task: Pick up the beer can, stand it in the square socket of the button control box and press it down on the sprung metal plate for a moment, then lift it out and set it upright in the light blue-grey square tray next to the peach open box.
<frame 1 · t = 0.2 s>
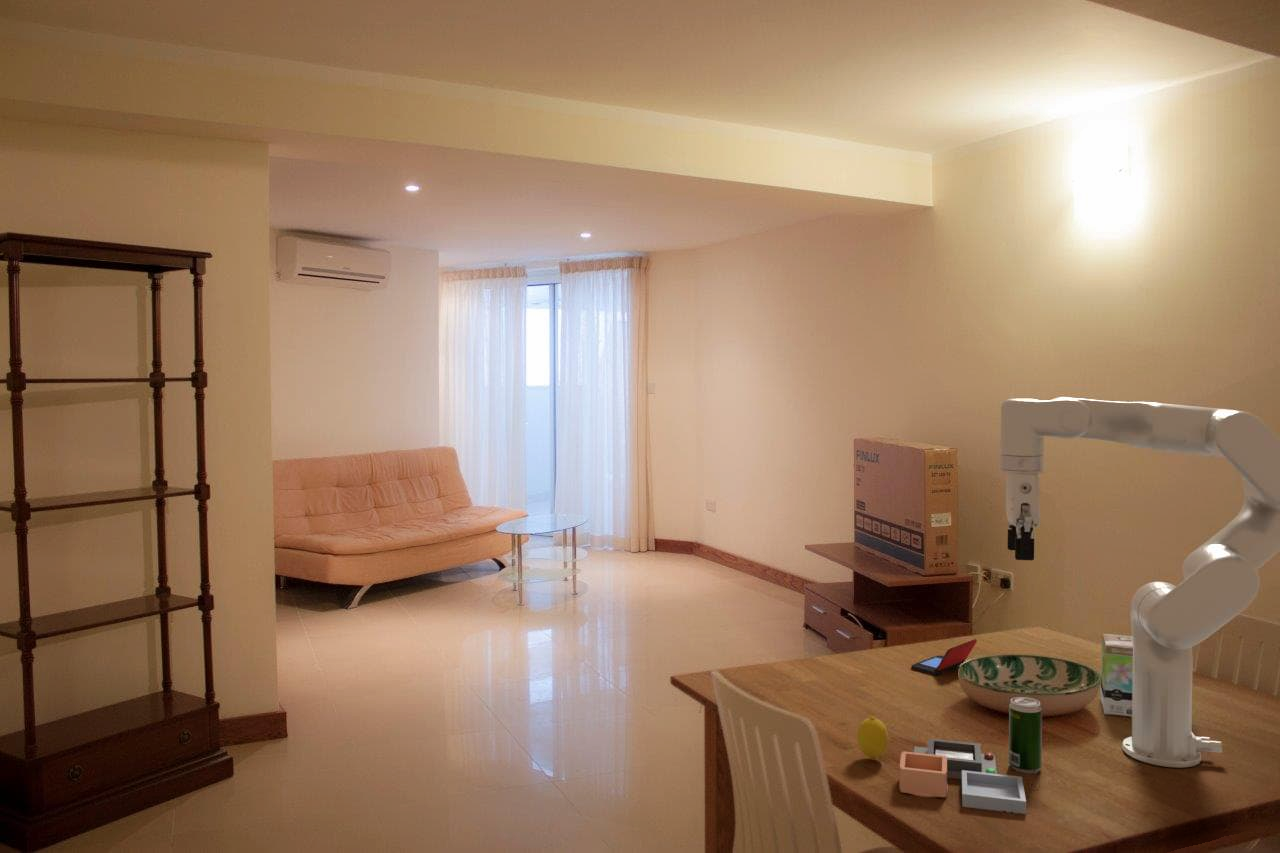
hand: (1020, 554, 176), 36 cm above the table, tool pointing down, fingers open, 9 cm apart
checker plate: (954, 758, 167), point 1 cm above the table, slide at -0.7 cm
tea box: (1142, 713, 192), on the table
light blue-grey square tray: (992, 797, 155), on the table
handheld game console: (944, 670, 223), on the table
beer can: (1025, 769, 166), on the table
peach open box: (923, 786, 159), on the table
lemon: (872, 760, 171), on the table
button control box: (954, 766, 167), on the table
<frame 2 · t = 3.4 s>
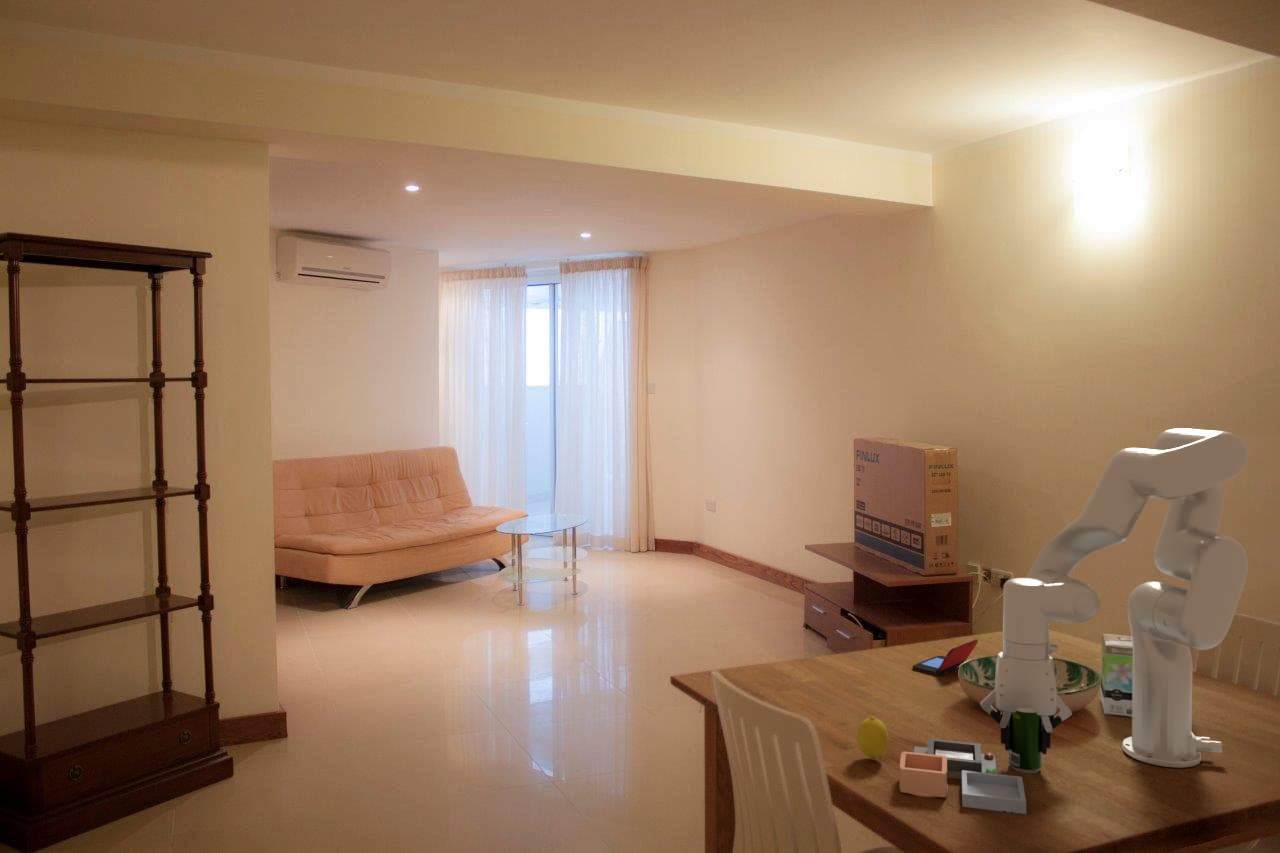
hand: (1025, 748, 166), 3 cm above the table, tool pointing down, fingers closed on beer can, 5 cm apart
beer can: (1025, 769, 166), on the table, touching gripper
everything else where it was.
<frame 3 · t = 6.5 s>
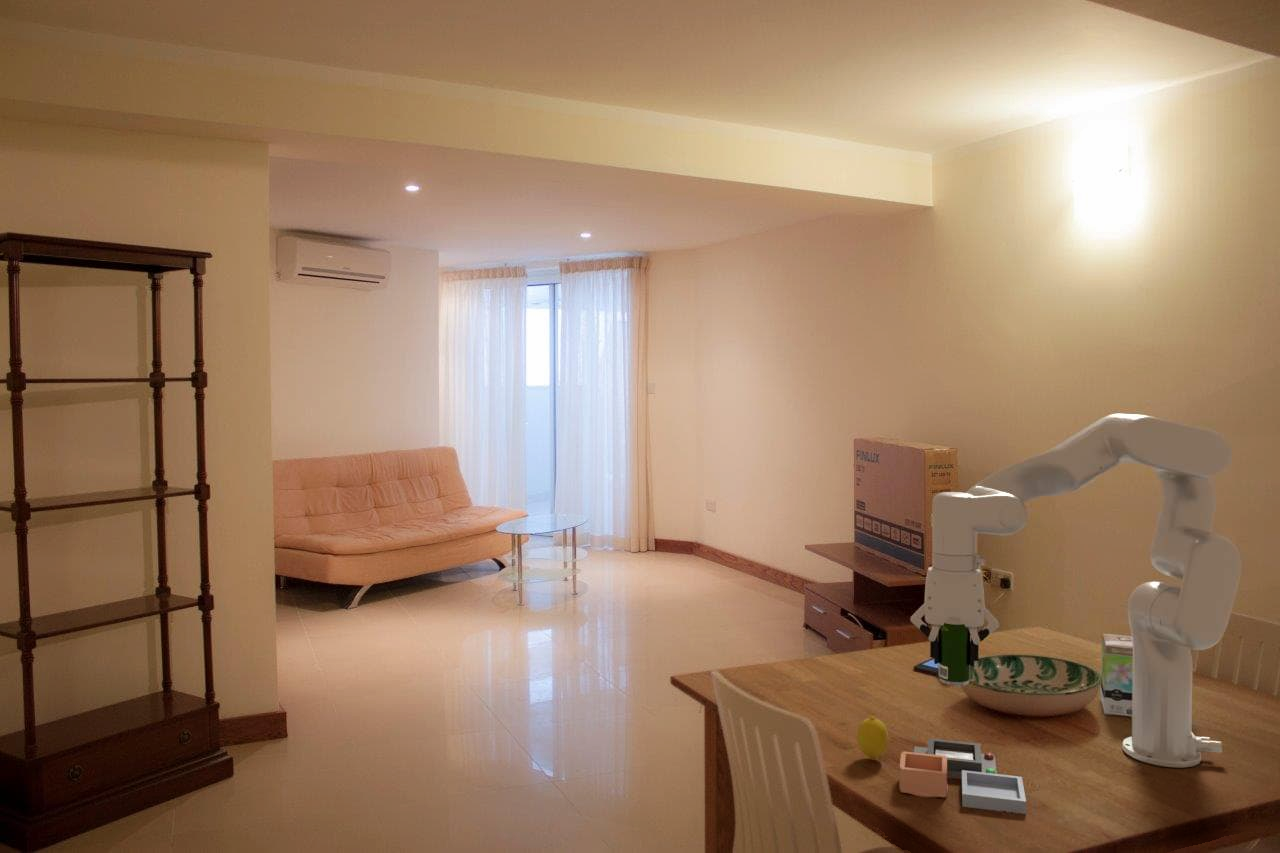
hand: (954, 662, 166), 19 cm above the table, tool pointing down, fingers closed on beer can, 5 cm apart
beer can: (954, 682, 166), point 15 cm above the table, touching gripper
everything else where it was.
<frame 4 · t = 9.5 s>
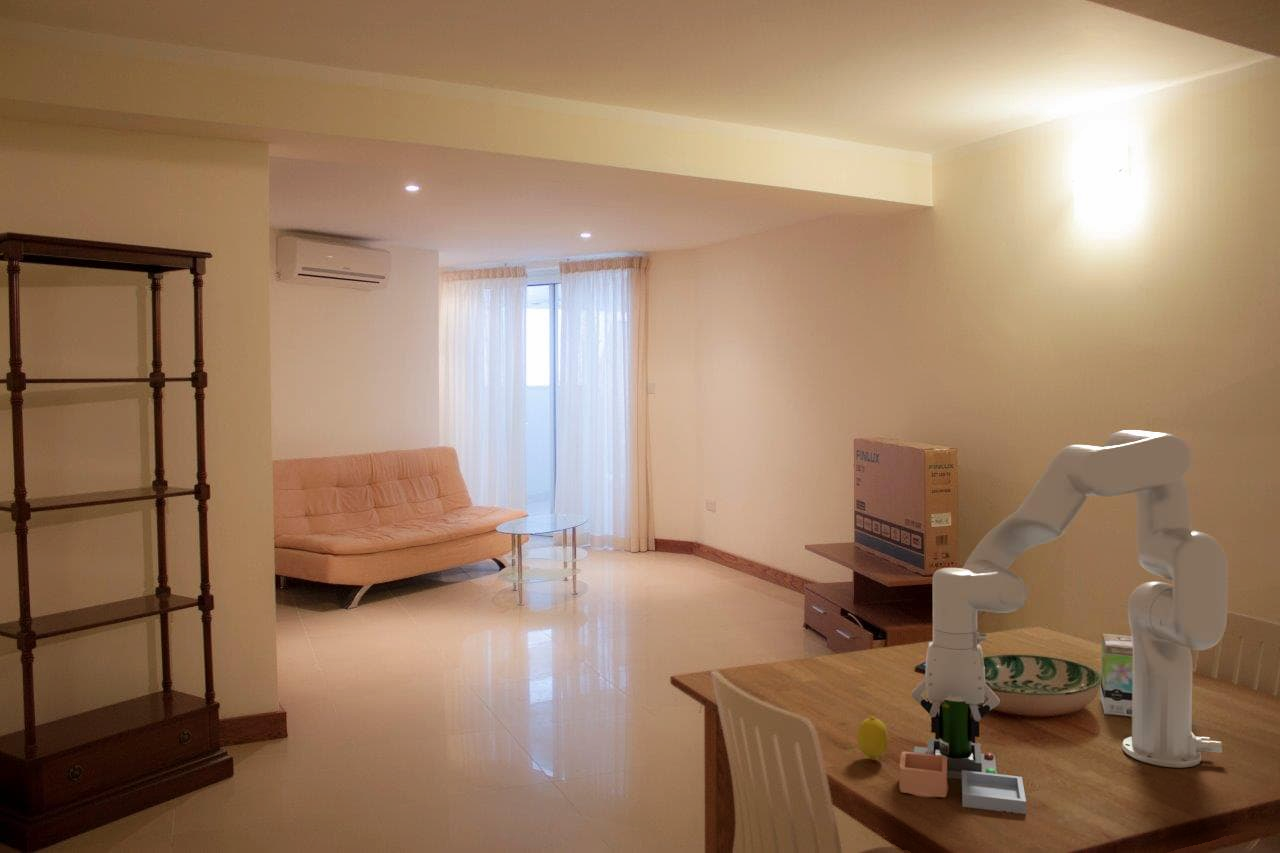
hand: (955, 737, 167), 5 cm above the table, tool pointing down, fingers closed on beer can, 5 cm apart
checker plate: (954, 758, 167), point 1 cm above the table, slide at -0.8 cm, touching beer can
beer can: (955, 757, 167), point 2 cm above the table, touching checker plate, gripper
everything else where it was.
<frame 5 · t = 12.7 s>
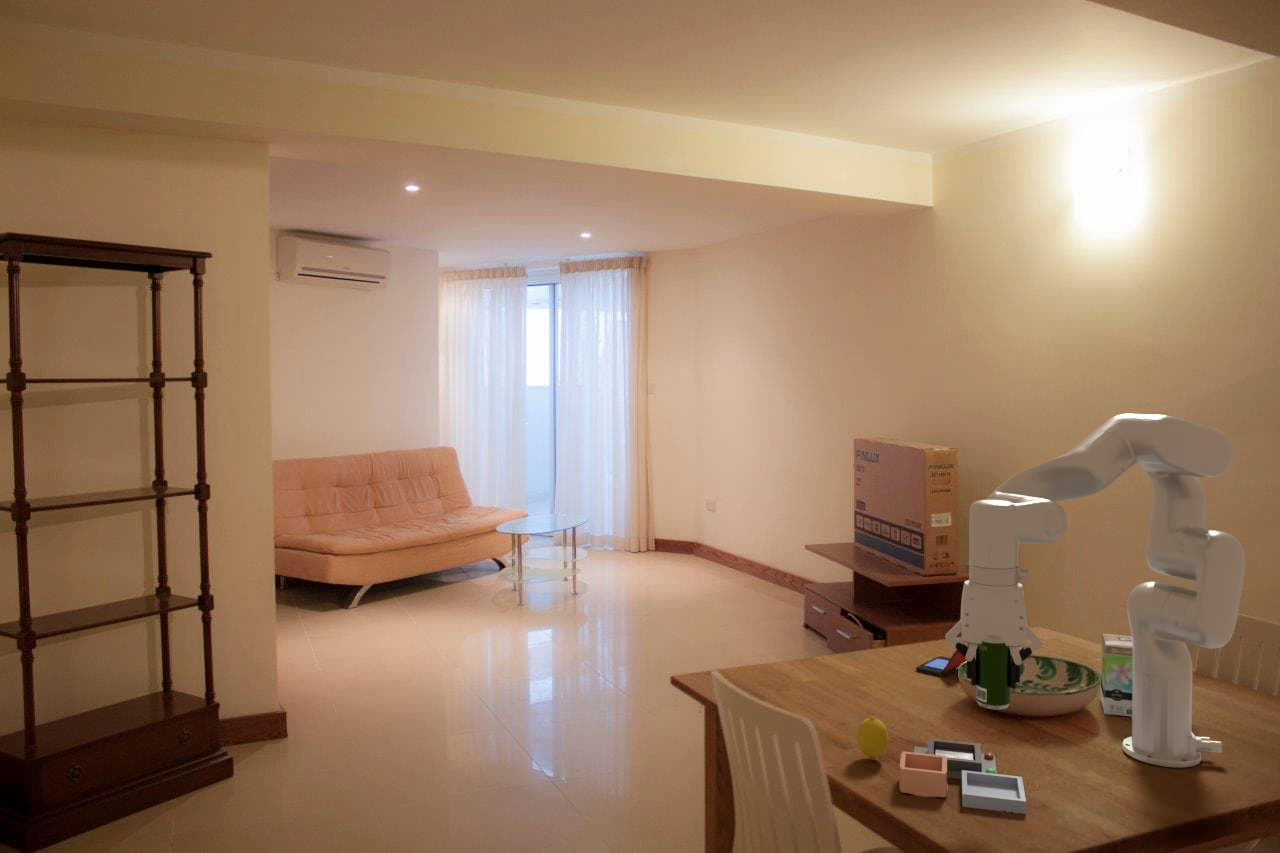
hand: (992, 683, 154), 19 cm above the table, tool pointing down, fingers closed on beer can, 5 cm apart
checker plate: (954, 758, 167), point 1 cm above the table, slide at -0.8 cm
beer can: (992, 705, 154), point 16 cm above the table, touching gripper
when the fingers open (5 cm above the table, at t = 15.5 s): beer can drops 1 cm, resting on light blue-grey square tray.
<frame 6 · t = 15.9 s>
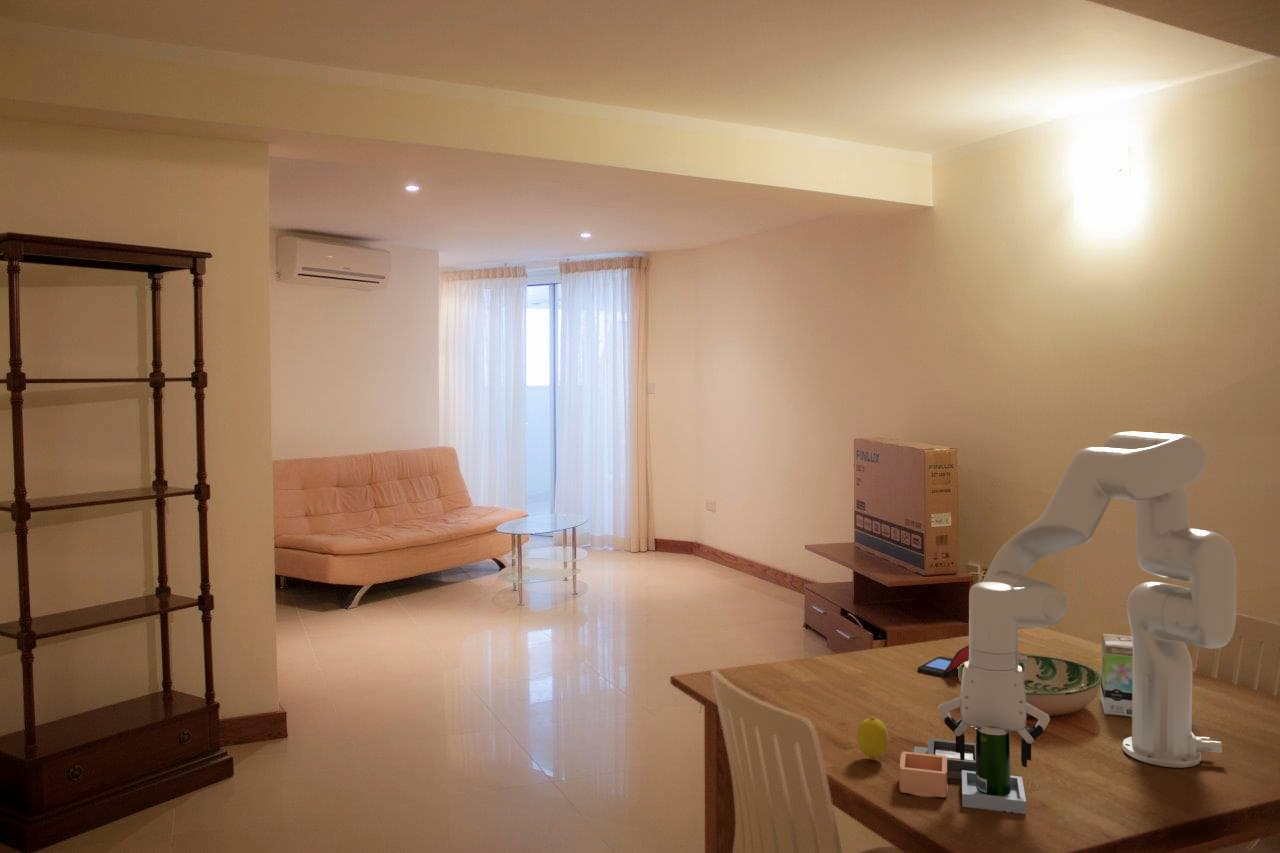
hand: (992, 760, 154), 6 cm above the table, tool pointing down, fingers open, 9 cm apart
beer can: (993, 794, 155), resting on light blue-grey square tray
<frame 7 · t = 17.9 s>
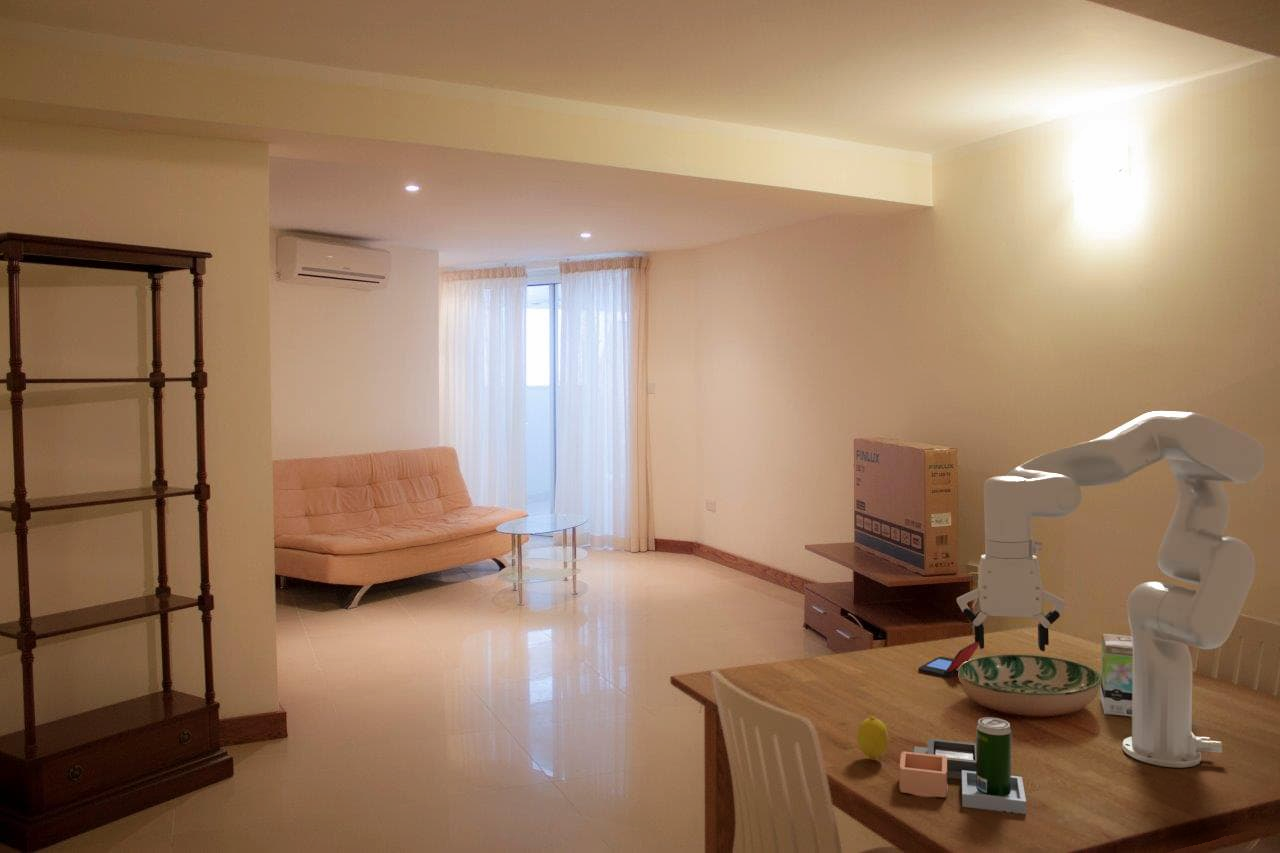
hand: (1011, 647, 160), 23 cm above the table, tool pointing down, fingers open, 9 cm apart
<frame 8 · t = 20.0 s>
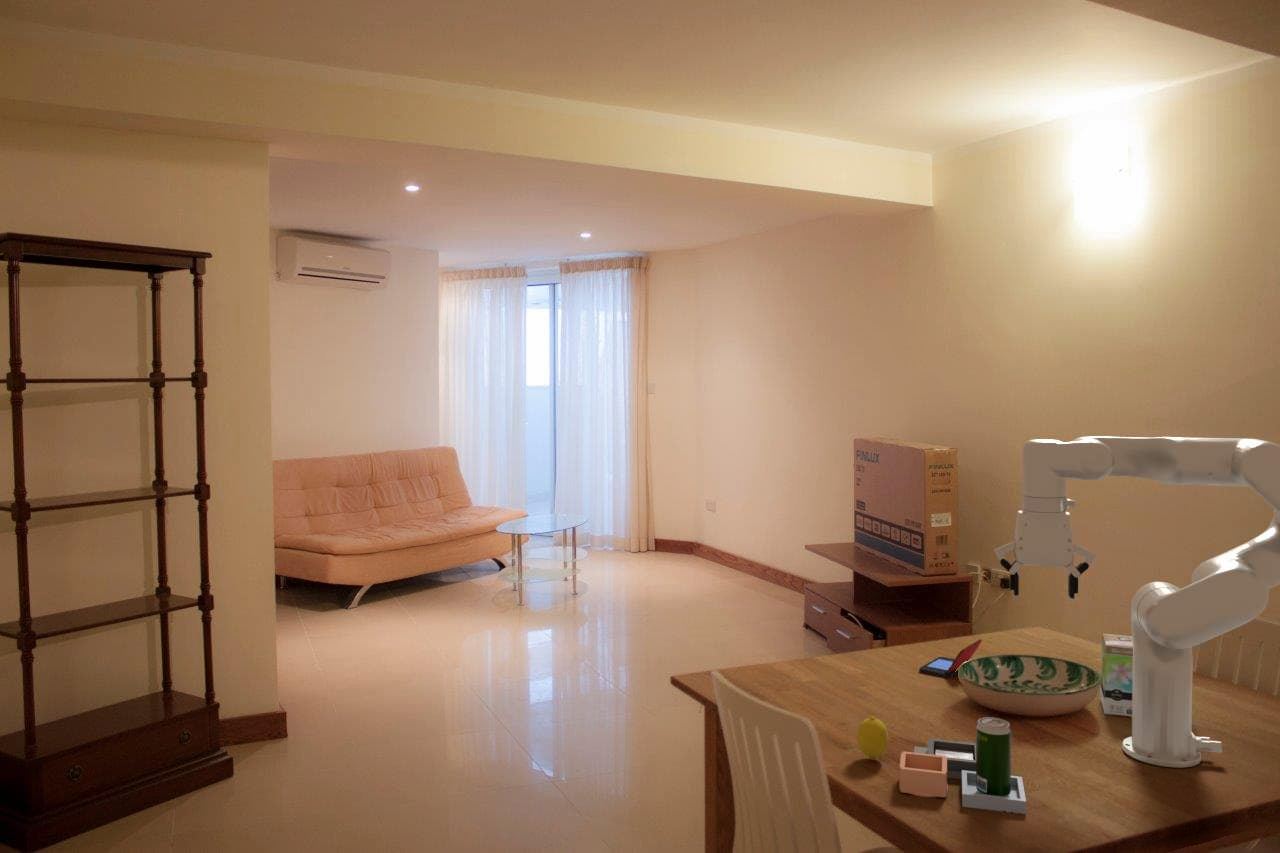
hand: (1043, 595, 176), 28 cm above the table, tool pointing down, fingers open, 9 cm apart
at the end: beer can inside the target area on the light blue-grey square tray (0.1 cm from its centre), point 0.4 cm above the light blue-grey square tray's base; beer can tilted 0°; the gripper is holding nothing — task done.
